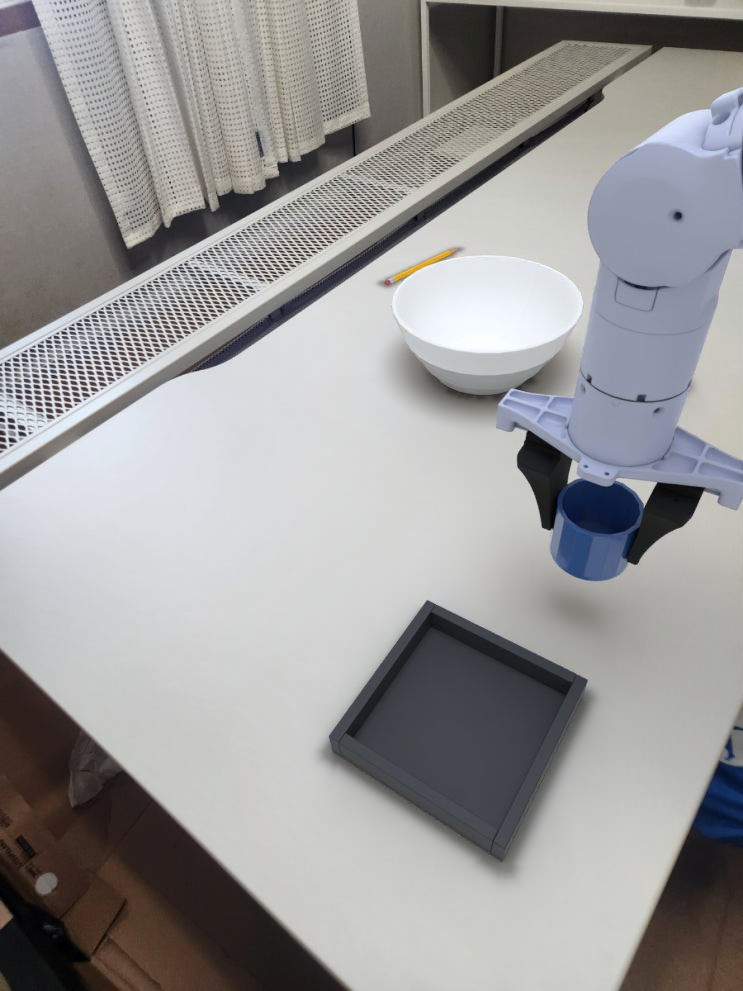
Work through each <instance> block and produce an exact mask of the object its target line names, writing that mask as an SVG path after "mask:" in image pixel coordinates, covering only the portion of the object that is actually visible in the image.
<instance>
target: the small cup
mask: <svg viewBox="0 0 743 991" xmlns="http://www.w3.org/2000/svg"><path fill="white" fill-rule="evenodd" d="M644 507H645V504H644V502H643V501H642V499H641V497H640V496H639V495H638V493H637V492H636V491H635V490H633V488H630V487H629V486H627V485H626V484H625V483H624V482H621V481H618V480H615V482H614V483H613V484H612V485H611V486H601V485H598V484H596V483H593V482H590V481H587V480H584V479H582V478H580V477H579V478H576V479H573V480H572V481H570V482H568V484H567V485H565V486H564V487H563V489H562V490H561V492H560V493H559V495H558V497H557V502H556V508H555V514H554V520H553V525H552V529H551V531H550V535H549V545H548V548H549V553H550V556H551V557H552V560H553V562H554V563H555V564H556V565H557V566H558V568H560V569H561V571H564V572H565V573H566V574H568V575H570V576H572V577H574V578H576V579H579V580H583V581H588V582H603V581H608V580H612V579H614V578H616V577H618V576H619V575H621V574H622V573H623V572H625V571H626V569H627V568H628V566H629V564H630V563H629V562H626V561H627V557H628V554H629V552H630V550H631V548H632V546H633V544H634V542H635V540H636V538H637V535H638V532H639V528H640V524H641V520H642V516H643V510H644Z"/></svg>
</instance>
